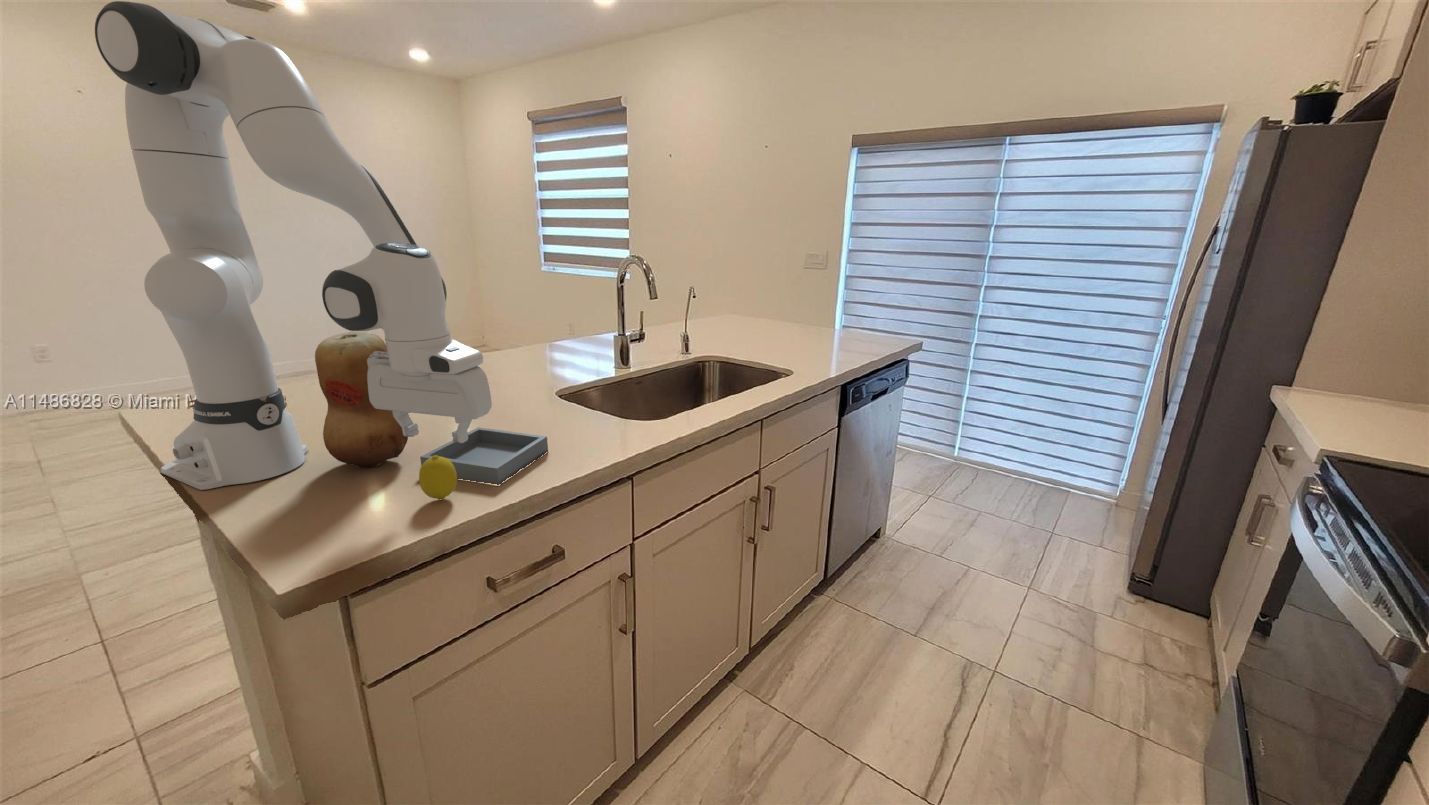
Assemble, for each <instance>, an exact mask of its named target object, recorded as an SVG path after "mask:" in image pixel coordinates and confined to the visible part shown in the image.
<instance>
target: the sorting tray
mask: <svg viewBox="0 0 1429 805" xmlns="http://www.w3.org/2000/svg"><path fill="white" fill-rule="evenodd" d="M467 432H468V440H467V441H465V442H464V443H458V442H453V439H452V440H450V441H448V442H446V443H445V444H442V445H441V446H439V447H437V448H435V449H433V450H431V451H429V452H427V453H424V454H423V455H421V456H420V458H419V459H420V464H421V466H422V465H423V463H424V462H425V461H426V460H428V459H429V458H432V457H433V456H434V455H437V456H440V457H444V458H446V459H448V460H450V461H451V462H452V464H453V465H454V467H455V470H456V473H457V479H463V480H470V481H476V482H484V483H491V484H497V485H499V484H501V483H502V482H503V481H505V480H506V479H507V478H509V477H511V476H513V475H514V474H516V473H517V472H518V471H519V470H520V469H522V468H525V467H526V466H527V465H529V464H530V463H532V462H533V461H534V460H537V459H538V458H540V457H541V456H542V455H544V454H545V453H546V452H548V453H549V446H548V445H549V444H548V435H547V436H546V435H541V434H540V435H538V434H531V433H524V432H518V431H517V432H516V431H509V430H508V431H507V430H500V429H493V428H486V427H480V426H479V427H477V428H475V429H472V430H470V431H467ZM545 455H546V454H545ZM545 455H544V456H545ZM541 458H542V457H541ZM541 458H540V459H541ZM538 460H539V459H538ZM538 460H537V461H538ZM525 469H526V468H525Z"/></svg>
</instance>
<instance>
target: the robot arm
mask: <svg viewBox="0 0 1429 805" xmlns="http://www.w3.org/2000/svg"><path fill="white" fill-rule="evenodd" d="M94 37H95V42H96V45H97V49H98V52H99V53H100V55H101V57H102V59H103V61H104V62H105V64H106V65H107V66H108V67H109V69H110V71H111V72H112V73H113V74H114V75H116V77H118V78H119V79H120V80H122V81H124V82H125V83H126V84H125V90H124V93H125V94H124V104H125V111H124V112H125V121H126V127H127V128H126V129H127V133H128V135H127V136H128V139H129V145H130V148H131V149H130V150H131V153H132V156H133V160H134V165H135V169H136V173H137V178H138V181H139V182H138V183H139V185H140V189H141V193H142V196H143V202H144V205H145V207H146V209H147V210H148V212H149V213H150V214H151V216H152V217H153V218H154V220H155V222H156V223H157V226H158V227H159V229H160V231H161V234H162V236H163V237H164V238H163V239H164V240H165V242H166V244H167V246H168V249H169V252H170V253H167V254H164V255H163V256H162V257H160V258H159V259H157V261H155V263H154V264H153V265H152V266H151V267H150V268H149V270H147V273H146V275H145V277H144V290H145V294H146V297H147V298H148V300H149V301H150V302H151V304H153V305H152V306H154V307H155V308H156V309H157V310H159V311H160V312H161V314H162V316H163V318H164V320H165V322H166V324H167V326H168V328H169V330H170V332H171V333H172V335H173V337H174V338H175V340H176V342H177V344H178V346H179V348H180V350H181V352H182V354H183V357H184V360H185V363H186V365H187V369H188V373H189V377H190V379H191V382H192V387H193V389H194V391H193V392H194V394H195V396H196V399H193V400H189V401H187V403H188V404H189V403H193V404H191V405H189V408H193V409H192V410H193V417H192V418H193V421H191V423H190V424H189V425H187V427H185V429H184V430H182V432H180V433H179V434H178V435H177V436H175V438H174V440H173V448H172V453H173V456H174V457H175V459H173V460H171V461H170V462H167V463H166V464H164V465H162V466H161V467H160V471H161V474H163V475H166V476H168V477H170V478H172V479H174V480H176V481H179V482H181V483H184V484H185V485H188V486H190V487H193V488H195V489H197V490H199V491H200V490H202V491H205V490H206V491H207V490H210V489H214V488H215V489H216V488H220V487H223V486H225V487H226V486H231V485H239V484H240V485H241V484H247V483H248V484H249V483H253V482H259V481H262V480H266V479H270V478H274V477H277V476H280V475H282V474H285V473H288V472H290V471H292V470H294V469H297V468H299V467H300V466H301V465H303V463H304V462H305V461H306V455H305V454H306V453H307V452H308V450H309V448H308V445H307V444H304V443H302V441H301V438H300V435H299V433H298V429H297V427H296V424H295V422H294V418H293V416H292V414H291V413H290V412H288V411H286V410H285V409H286V406H287V405H286V402H285V399H286V398H285V395H283V390H282V389H281V388H280V387H279V386H278V382H277V377H276V373H275V369H274V364H273V360H272V355H271V351H270V347H269V346H268V344H267V342H266V341H265V339H264V337H263V336H262V334H261V331H260V329H259V327H258V325H257V321H256V320H255V317H254V314H253V312H252V308H251V305H252V304H253V303H255V302H256V301H257V300H258V299H259V297H260V295H261V293H262V290H263V287H264V277H263V276H264V275H263V273H262V271H261V269H260V267H259V263H258V260H257V257H256V254H255V250H254V247H253V244H252V242H251V238H250V235H249V233H248V230H247V227H246V225H245V223H244V219H243V216H242V213H241V209H240V206H239V200H238V197H237V196H238V195H237V191H236V186H235V181H234V175H233V172H232V167H231V162H230V156H229V152H228V148H227V147H228V146H227V144H226V141H225V136H224V127H223V126H224V122H225V121H226V118H228V116H230V118H231V120H232V122H233V124H234V126H235V128H236V130H237V132H238V135H239V136H240V138H241V141H242V143H243V145H244V147H245V149H246V151H247V152H248V154H249V155H250V157H251V158H252V160H253V161H254V163H255V164H256V166H257V167H258V168H259V169H260V171H262V172H263V173H264V175H266V176H267V177H268V178H269V179H271V180H272V181H274V182H275V183H277V184H279V185H280V186H283V187H285V188H287V189H289V190H291V191H293V192H296V193H299V194H303V195H306V196H309V197H312V198H314V199H317V200H320V201H322V202H325V203H327V204H329V205H332V206H334V207H337V208H338V209H340V210H342V211H343V212H345V213H347V214H348V215H349V216H350V217H352V218H353V219H354V220H355V221H356V222H357V223H358V224H359V226H360V227H361V229H362V230H363V232H364V233H365V235H366V236H367V237H368V240H369V241H370V243H371V244H372V246H373V247H372V248H371V251H370V252H369V254H368V255H367V256H366V257H364V258H363V259H361V260H359V261H358V262H355V263H352V264H350V265H348V266H347V265H346V266H344V267H342V268H340V269H339V268H338V269H334V270H332V271H331V272H330V273H329V274H328V275H327V277H326V278H325V280H324V282H323V284H322V290H321V296H322V302H323V305H324V306H323V307H324V308H325V310H326V313H327V314H328V316H329V317H330V318H331V320H332V321H333V323H335V324H337V325H338V326H340V327H341V328H343V329H345V330H347V331H349V332H353V331H364V332H369V331H373V330H374V331H375V330H379V329H381V330H383V332H384V343H385V344H386V348H387V352H382V351H374V352H373V354H371V355H370V356H369V358H368V359H367V364H368V373H367V381H368V393H369V400H370V403H371V404H372V405H373V406H374V408H376V409H382V410H391V411H392V412H393V417H394V418H395V419H396V421H397V422H398V423H399V425H400V426H401V427H402V431H403V435H404V436H407V437H408V438H409V437H410V438H413V437H416V436H418V435H419V425H418V423H414V421H413V419H412V418H411V416H410V415H409V414H410V413H412V414H421V415H422V414H423V415H431V416H440V417H442V416H443V417H450V418H454V422H455V423H456V424H458V425H457V429H456V430H453V431H452V432H451V436H452V440H453V442H458V443H464V442H465V441H467V440H468V432H469V431H468V429H469V428H470V425H471V423H472V420H478V419H479V418H483V416H486V415H487V414H489V413H490V411H491V410H492V405H493V404H492V396H491V394H492V393H491V388H490V383H489V381H488V376H487V374H486V371H484V370H483V368H481V367H480V365H482V364H483V363H484V356H483V353H482V352H481V351H480V350H477V349H475V348H473V347H471V346H468V345H466V344H464V343H462V342H460V341H458V340H456V339H455V338H454V339H453V338H452V335H451V331H450V327H449V326H448V324H447V320H446V307H447V304H446V303H447V287H446V283H445V281H444V279H443V277H442V276H441V272H440V268H439V266H438V263H437V261H436V259H435V256H434V255H433V253H432V252H431V251H430V250H428V249H427V248H425V247H423V246H420V245H418V244H417V243H416V241H415V240H414V238H413V236H412V235H411V233H410V232H409V230H408V228H407V227H406V225H405V222H403V220H402V219H401V216H400V215H399V214H398V212H397V210H396V208H395V207H394V205H393V204H392V202H391V201H390V199H389V197H388V196H387V194H386V193H385V191H384V189H383V188H382V187H381V185H380V184H379V182H378V181H377V179H376V178H375V177H374V176H373V175H372V173H371V172H369V170H368V169H366V168H365V167H364V166H363V165H361V164H360V163H359V162H358V161H357V160H356V159H355V158H354V157H353V156H352V154H350V152H349V151H348V150H347V149H346V147H345V146H344V145H343V143H342V142H341V141H340V140H339V137H338V136H337V135H336V134H335V132H334V131H333V129H332V127H331V125H330V123H329V121H328V119H327V117H326V116H325V114H324V113H325V112H324V111H323V109H322V107H321V105H320V104H319V101H318V100H317V98H316V96H315V95H314V93H313V91H312V90H311V88H310V87H309V85H308V83H307V81H306V80H305V78H304V77H303V76H302V74H301V72H300V71H299V69H298V68H297V66H296V65H295V64H294V63H293V61H292V60H291V58H290V57H289V56H288V55H287V54H286V53H285V52H284V51H283V50H281V49H280V48H278V47H277V46H276V45H273V44H272V43H270V42H266V41H263V40H259V39H256V38H254V37H252V36H249V35H243V34H240V33H238V32H236V31H234V30H231V29H229V28H227V27H223V26H221V25H219V24H216V23H213V22H211V21H207V20H204V19H201V18H193V17H191V16H190V17H189V16H187V15H183V14H179V13H176V12H171V11H166V10H162V9H157V7H154V6H152V5H151V4H145V3H140V2H135V1H133V2H132V1H126V0H123V1H122V0H121V1H120V0H119V1H117V0H115V1H114V0H113V1H111V2H108V3H107V4H106V5H104V7H102V8H101V10H100V11H99V13H98V14H97V16H96V19H95V24H94Z"/></svg>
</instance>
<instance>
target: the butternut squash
mask: <svg viewBox="0 0 1429 805" xmlns="http://www.w3.org/2000/svg"><path fill="white" fill-rule="evenodd" d="M374 351H382V352H387V348H386V342H385V340H383V338H381V337H380V336H379V335H378V334H376V333H373V332H369V331H349V332H347V331H346V332H344V333H338V334H334V335H331V336H329V337H326V338H324V339H323V340H321V342H319V344H318V345H317V347H316V349H315V353H314V362H315V366H316V367H315V368H316V372H317V373H316V374H317V377H318V378H317V379H318V383H319V387H320V389H321V392H322V394H323V396H324V398H325V399H326V402H327V411H326V416H325V419H324V423H323V424H324V425H323V430H322V438H323V443H324V446H325V448H326V450H327V451H328V453H329V454H330V455H331V456H332V457H333V458H334V459H336V460H337V461H339V463H340V462H341V463H343V464H347V465H351V466H356V467H358V468H359V467H360V468H374V467H378V466H380V465H381V463H383V462H386V461H388V460H392V459H396V458H398V457H399V456H400V455H401V454H402V453H403V451H404V449H405V447H406V445H407V443H408V439H409V437H407V436H404V435H403V431H402V427H401V426H400V425H399V423H398V422H397V421H396V419H395V418H394V417H393V412H392V411H391V410H382V409H376V408H374V406H373V405H372V404H371V403H370V400H369V393H368V381H367V373H368V364H367V359H368V358H369V356H370V355H371V354H373V352H374Z"/></svg>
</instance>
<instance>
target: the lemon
mask: <svg viewBox="0 0 1429 805" xmlns="http://www.w3.org/2000/svg"><path fill="white" fill-rule="evenodd" d="M418 482H419V485H420V488H421V491H422V492H423V493H424V494H425V495H426V496H428V497H429V498H430V499H436V500H438V499H443V498H444V499H445V498H446V497H448V496H450V495H451V494H452V493H453V492H454V490H456V486H457V483H458V480H457V473H456V470H455V467H454V465H453V464H452V462H451V461H450V460H448V459H446V458H444V457H440V456H437V455H434V456H433V457H432V458H429V459H428V460H426V461H425V462H424V463H423V465H422V466H421V467H420V469H419V474H418ZM444 499H443V500H444Z"/></svg>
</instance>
